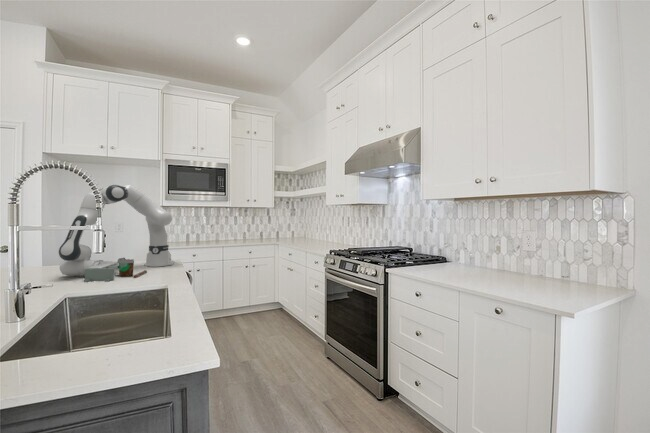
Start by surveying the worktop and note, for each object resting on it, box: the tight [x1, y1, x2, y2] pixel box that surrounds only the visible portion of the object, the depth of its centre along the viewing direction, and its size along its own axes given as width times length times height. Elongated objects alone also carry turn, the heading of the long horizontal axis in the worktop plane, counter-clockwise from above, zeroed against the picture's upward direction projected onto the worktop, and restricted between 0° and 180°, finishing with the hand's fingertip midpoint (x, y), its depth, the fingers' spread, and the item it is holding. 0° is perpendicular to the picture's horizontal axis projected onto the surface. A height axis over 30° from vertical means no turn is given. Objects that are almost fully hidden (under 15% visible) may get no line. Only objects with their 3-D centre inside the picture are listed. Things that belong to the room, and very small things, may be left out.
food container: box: [116, 257, 135, 278], centre depth 188 cm, size 12×6×10 cm, turn 55°
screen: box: [84, 268, 115, 283], centre depth 174 cm, size 4×14×6 cm, turn 99°
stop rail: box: [133, 270, 148, 279], centre depth 190 cm, size 16×1×2 cm, turn 9°
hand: (118, 267), depth 188 cm, fingers closed
